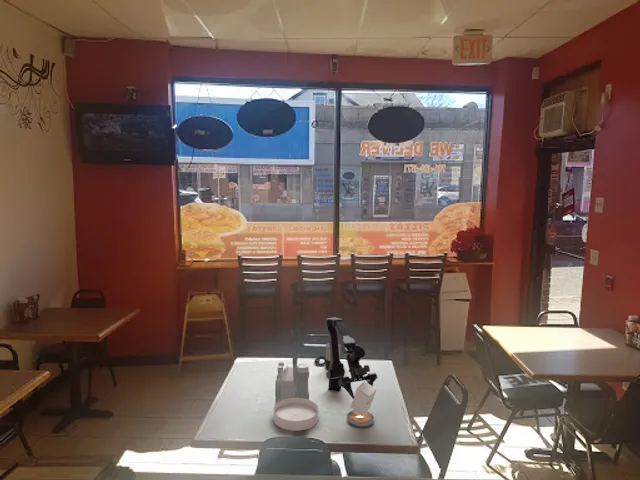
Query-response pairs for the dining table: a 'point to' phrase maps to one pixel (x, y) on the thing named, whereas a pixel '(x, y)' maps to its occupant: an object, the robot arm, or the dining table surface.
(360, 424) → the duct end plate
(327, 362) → the milk frother
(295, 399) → the dish
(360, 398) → the supplement box
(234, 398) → the dining table surface
